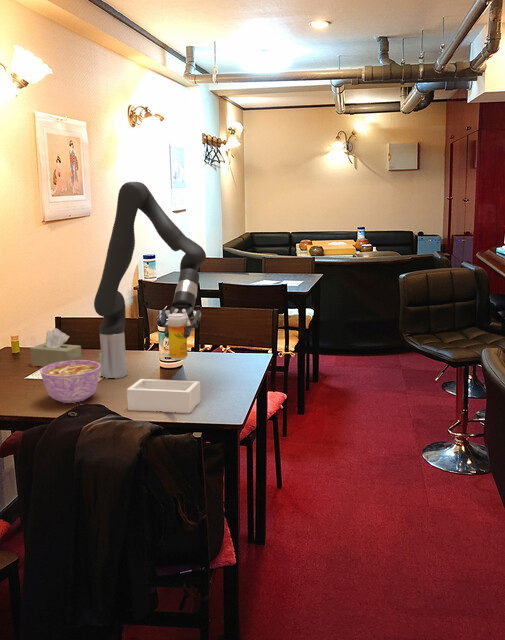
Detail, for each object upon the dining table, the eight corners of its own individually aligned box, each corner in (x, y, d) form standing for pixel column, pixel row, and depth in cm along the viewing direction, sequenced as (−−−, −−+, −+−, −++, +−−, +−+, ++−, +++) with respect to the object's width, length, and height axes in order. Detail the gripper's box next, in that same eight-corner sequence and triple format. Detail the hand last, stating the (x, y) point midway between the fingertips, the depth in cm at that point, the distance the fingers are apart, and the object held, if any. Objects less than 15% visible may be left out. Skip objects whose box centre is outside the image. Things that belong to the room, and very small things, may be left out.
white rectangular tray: (128, 410, 208) (126, 389, 207) (141, 398, 219) (140, 378, 218) (189, 413, 204) (188, 392, 202) (200, 401, 215) (199, 381, 214)
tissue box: (83, 364, 266) (80, 327, 263) (68, 370, 257) (65, 332, 254) (46, 360, 273) (43, 324, 270) (30, 366, 264) (27, 329, 261)
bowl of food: (100, 388, 232) (97, 357, 230) (106, 405, 213) (103, 371, 211) (42, 395, 226) (39, 363, 223) (43, 412, 207) (40, 378, 205)
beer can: (184, 360, 213) (183, 316, 210) (167, 360, 214) (165, 316, 211) (189, 356, 219) (188, 313, 216) (172, 355, 220) (170, 312, 217)
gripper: (162, 289, 221) (152, 330, 212) (203, 290, 218) (194, 331, 209) (168, 301, 227) (158, 342, 218) (207, 302, 224) (199, 343, 215)
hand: (176, 336), depth 213 cm, fingers closed on beer can, 6 cm apart
